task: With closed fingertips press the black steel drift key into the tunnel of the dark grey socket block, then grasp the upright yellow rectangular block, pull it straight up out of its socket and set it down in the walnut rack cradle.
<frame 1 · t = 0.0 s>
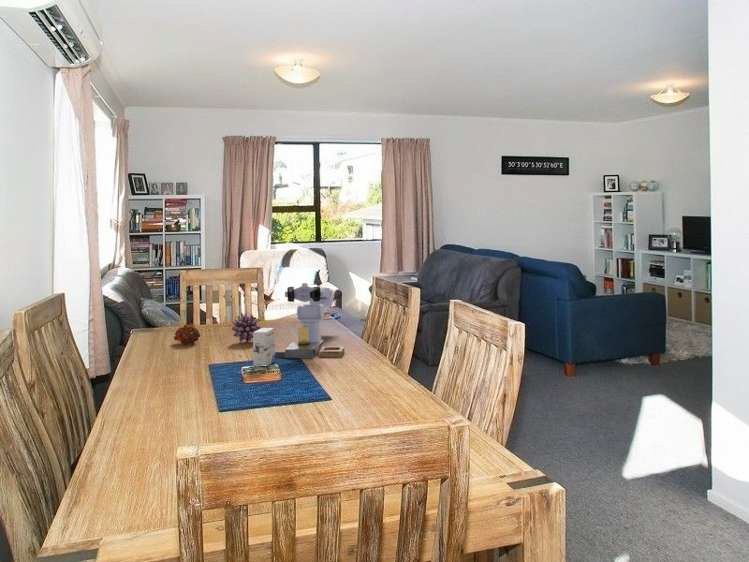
hand: (300, 294, 224), 22 cm above the table, tool horizontal, fingers open, 7 cm apart
brown knobbly lump: (187, 344, 250), on the table
socket block: (302, 353, 226), on the table
purple spiky ball: (246, 342, 251), on the table
yellow rectangular block: (303, 352, 229), resting in socket block
rack: (332, 354, 224), on the table
drift key: (282, 352, 222), point 1 cm above the table, slide at 0.0 cm
ink box: (265, 364, 212), on the table
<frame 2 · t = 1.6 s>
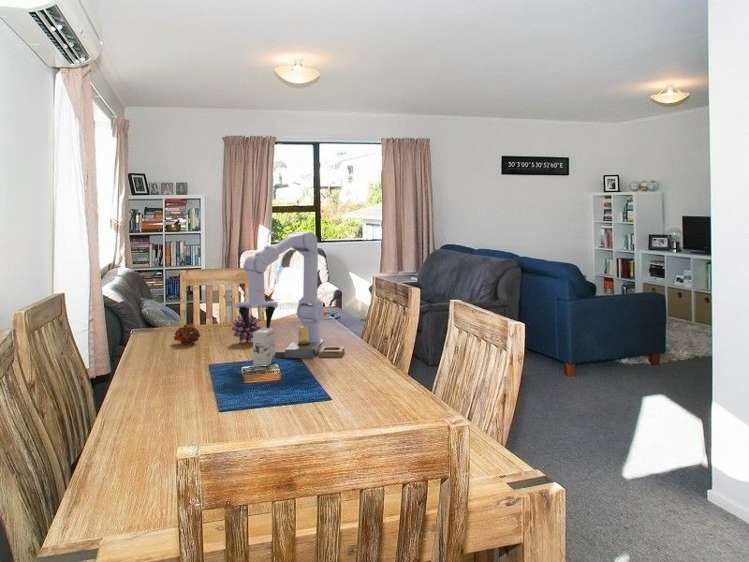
hand: (257, 327, 222), 10 cm above the table, tool pointing down, fingers open, 7 cm apart
nothing on the table moved.
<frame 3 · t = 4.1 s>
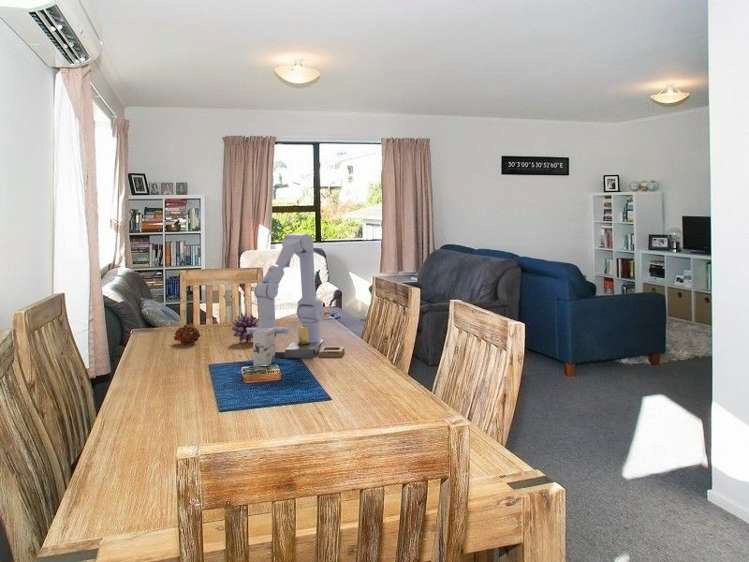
hand: (268, 353, 223), 1 cm above the table, tool pointing down, fingers closed
drift key: (283, 352, 222), point 1 cm above the table, slide at 0.6 cm, touching gripper
everything else where it was.
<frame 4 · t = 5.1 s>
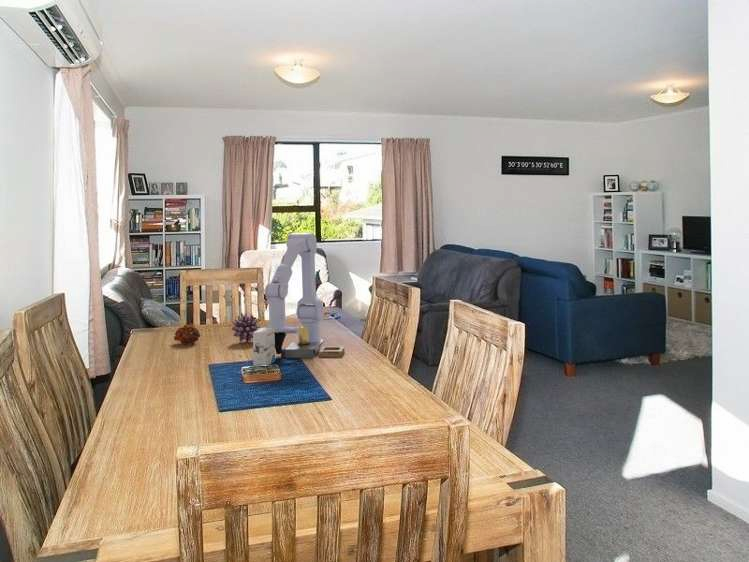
hand: (278, 353, 222), 1 cm above the table, tool pointing down, fingers closed
drift key: (294, 352, 222), point 1 cm above the table, slide at 4.3 cm, touching gripper
everything else where it was.
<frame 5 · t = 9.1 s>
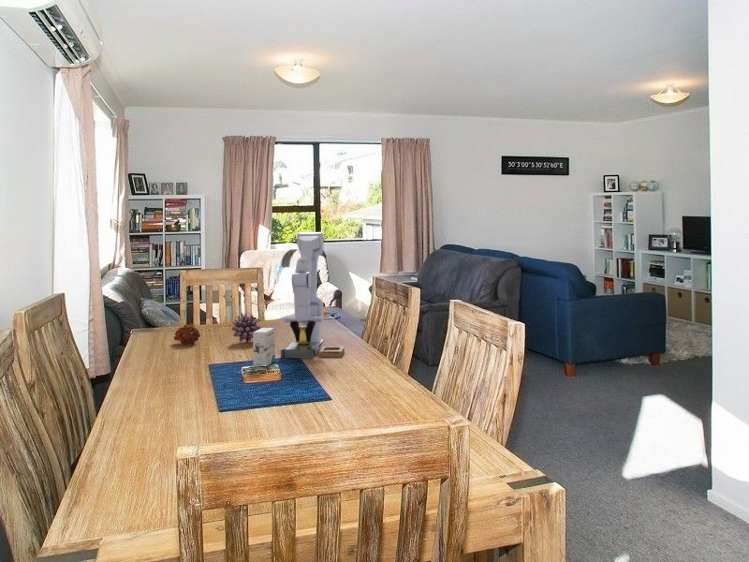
hand: (303, 341, 228), 4 cm above the table, tool pointing down, fingers closed on yellow rectangular block, 4 cm apart
yellow rectangular block: (303, 352, 229), resting in socket block, touching gripper
drift key: (294, 352, 222), point 1 cm above the table, slide at 4.3 cm
everything else where it was.
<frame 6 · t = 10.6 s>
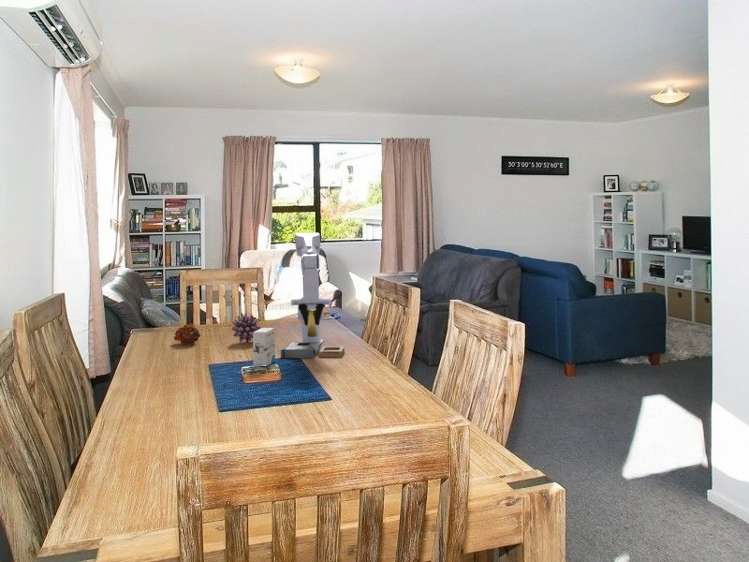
hand: (312, 324, 226), 10 cm above the table, tool pointing down, fingers closed on yellow rectangular block, 4 cm apart
yellow rectangular block: (312, 335, 226), point 6 cm above the table, touching gripper
everything else where it was.
when the fingers open (6 cm above the table, at t = 12.3 s): yellow rectangular block stays where it is, resting on rack.
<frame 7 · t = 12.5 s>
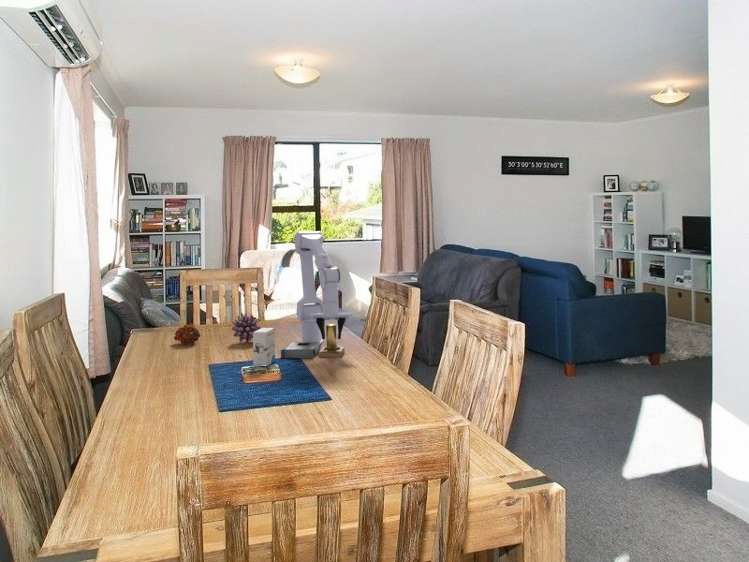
hand: (331, 338, 223), 6 cm above the table, tool pointing down, fingers open, 5 cm apart
yellow rectangular block: (331, 351, 224), point 1 cm above the table, touching rack
everything else where it was.
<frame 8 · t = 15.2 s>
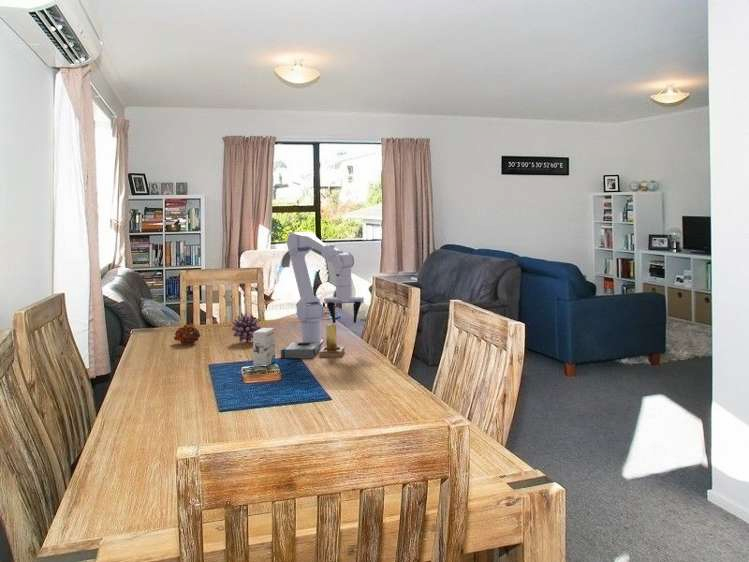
hand: (344, 322, 230), 10 cm above the table, tool pointing down, fingers open, 7 cm apart
nothing on the table moved.
at the end: drift key slide at 4.3 cm; yellow rectangular block 0.0 cm off-centre on the rack, point 1.2 cm above the rack's base; yellow rectangular block tilted 0° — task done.
